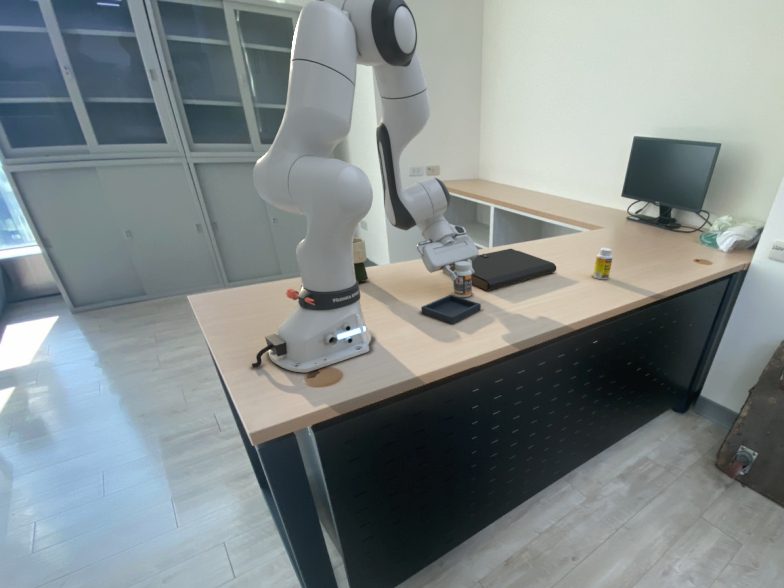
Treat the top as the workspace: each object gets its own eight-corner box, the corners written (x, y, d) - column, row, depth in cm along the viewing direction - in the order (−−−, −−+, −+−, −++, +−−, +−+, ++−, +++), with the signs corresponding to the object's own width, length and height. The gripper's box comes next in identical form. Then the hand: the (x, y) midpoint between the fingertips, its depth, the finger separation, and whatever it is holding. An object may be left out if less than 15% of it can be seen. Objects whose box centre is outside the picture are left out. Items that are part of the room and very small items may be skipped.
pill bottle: (468, 298, 123) (469, 266, 118) (450, 296, 124) (450, 264, 119) (473, 292, 128) (474, 261, 123) (456, 290, 129) (456, 259, 123)
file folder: (510, 247, 161) (557, 263, 147) (509, 257, 163) (555, 274, 149) (443, 260, 141) (489, 280, 127) (443, 272, 143) (489, 293, 129)
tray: (452, 324, 107) (452, 317, 106) (421, 313, 112) (421, 306, 111) (480, 310, 116) (480, 303, 115) (450, 300, 121) (450, 294, 120)
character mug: (339, 278, 132) (332, 238, 125) (359, 274, 137) (354, 235, 130) (356, 288, 126) (350, 245, 119) (376, 283, 131) (372, 242, 124)
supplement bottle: (602, 281, 144) (608, 252, 139) (590, 276, 147) (594, 248, 142) (611, 278, 147) (617, 249, 142) (598, 274, 151) (603, 246, 145)
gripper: (419, 236, 113) (444, 279, 113) (467, 226, 127) (490, 264, 127) (409, 249, 117) (434, 290, 118) (457, 238, 131) (479, 274, 132)
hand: (464, 276), depth 122 cm, fingers closed on pill bottle, 6 cm apart
